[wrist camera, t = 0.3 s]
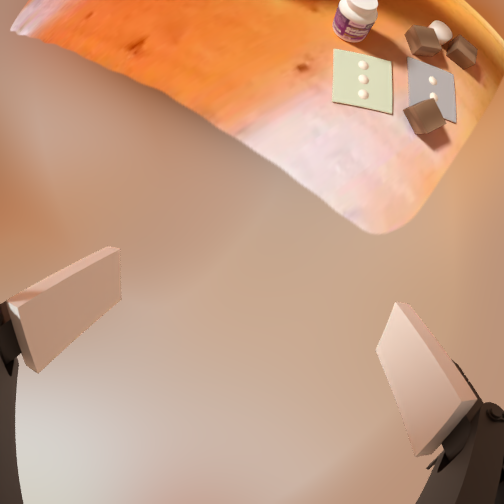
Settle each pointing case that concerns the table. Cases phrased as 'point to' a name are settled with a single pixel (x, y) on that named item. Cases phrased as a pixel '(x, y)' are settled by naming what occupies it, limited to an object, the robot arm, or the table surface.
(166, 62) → the table surface
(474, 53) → the cube
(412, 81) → the pad two
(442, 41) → the white cap
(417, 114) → the cube
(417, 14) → the table surface
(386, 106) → the pad three
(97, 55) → the table surface
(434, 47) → the cube
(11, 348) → the robot arm
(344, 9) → the pill bottle
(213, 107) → the table surface
